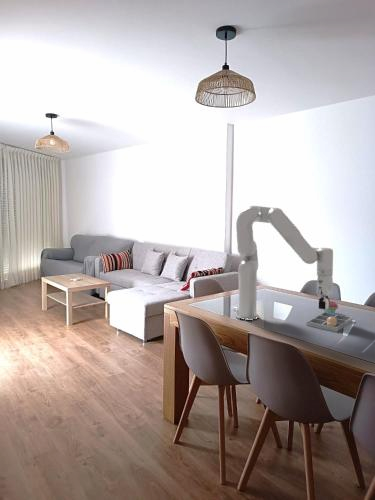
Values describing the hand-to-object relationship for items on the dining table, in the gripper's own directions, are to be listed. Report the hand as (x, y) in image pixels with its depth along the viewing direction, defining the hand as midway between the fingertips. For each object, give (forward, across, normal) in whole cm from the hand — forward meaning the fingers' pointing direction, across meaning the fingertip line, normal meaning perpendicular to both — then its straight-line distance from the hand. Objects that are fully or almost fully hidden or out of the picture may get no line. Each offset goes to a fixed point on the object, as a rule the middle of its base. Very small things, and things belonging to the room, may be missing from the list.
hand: (323, 307), depth 187 cm
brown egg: (+8, -7, -7) cm, 13 cm away
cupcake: (+8, +18, +4) cm, 20 cm away
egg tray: (+8, 0, -3) cm, 9 cm away
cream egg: (+1, 0, 0) cm, 1 cm away
